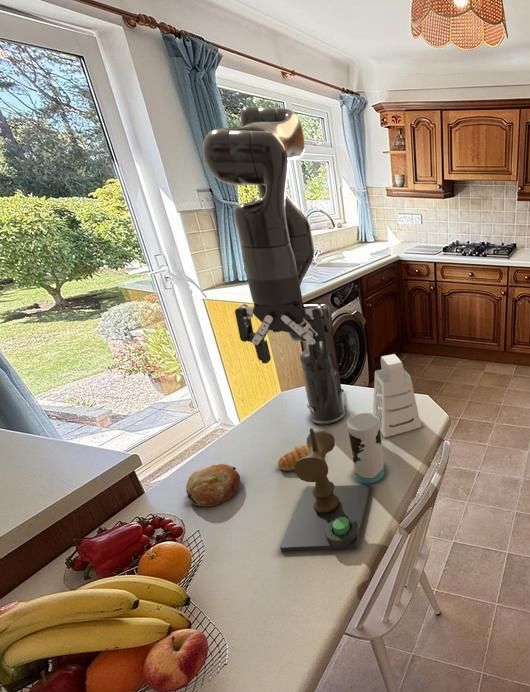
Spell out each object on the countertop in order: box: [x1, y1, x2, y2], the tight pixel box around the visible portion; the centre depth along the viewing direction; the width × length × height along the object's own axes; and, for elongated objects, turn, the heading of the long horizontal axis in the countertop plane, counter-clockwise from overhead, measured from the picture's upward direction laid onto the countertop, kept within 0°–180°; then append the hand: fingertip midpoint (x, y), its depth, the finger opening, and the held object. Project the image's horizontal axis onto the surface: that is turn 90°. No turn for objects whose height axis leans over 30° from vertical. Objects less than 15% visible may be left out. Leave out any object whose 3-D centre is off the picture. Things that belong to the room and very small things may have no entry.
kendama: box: [294, 427, 339, 513], centre depth 81 cm, size 6×10×20 cm, turn 8°
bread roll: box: [185, 463, 241, 508], centre depth 89 cm, size 10×10×8 cm
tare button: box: [333, 517, 350, 536], centre depth 78 cm, size 3×3×2 cm
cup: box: [346, 412, 385, 485], centre depth 93 cm, size 7×7×15 cm
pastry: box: [277, 443, 309, 472], centre depth 98 cm, size 9×7×4 cm
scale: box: [279, 484, 372, 553], centre depth 83 cm, size 16×14×3 cm
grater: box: [372, 353, 422, 438], centre depth 111 cm, size 10×10×20 cm
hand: (291, 361), depth 73 cm, fingers open, 8 cm apart
